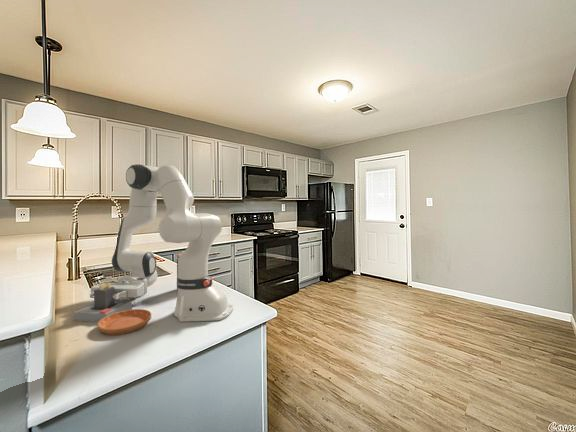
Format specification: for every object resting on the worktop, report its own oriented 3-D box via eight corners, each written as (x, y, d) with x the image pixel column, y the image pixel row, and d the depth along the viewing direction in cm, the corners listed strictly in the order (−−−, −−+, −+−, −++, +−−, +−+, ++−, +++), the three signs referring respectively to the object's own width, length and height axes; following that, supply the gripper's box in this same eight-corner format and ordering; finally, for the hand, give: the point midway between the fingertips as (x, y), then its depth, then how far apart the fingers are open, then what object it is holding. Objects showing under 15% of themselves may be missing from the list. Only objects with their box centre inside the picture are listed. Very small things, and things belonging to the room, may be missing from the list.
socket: (132, 308, 105) (131, 299, 105) (106, 322, 93) (106, 312, 92) (102, 306, 107) (102, 297, 107) (73, 320, 94) (73, 310, 94)
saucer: (157, 327, 90) (157, 318, 90) (101, 343, 79) (101, 333, 79) (144, 312, 102) (144, 305, 101) (94, 325, 91) (94, 317, 91)
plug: (114, 311, 102) (114, 282, 101) (105, 316, 97) (104, 285, 97) (104, 311, 102) (103, 281, 102) (94, 316, 98) (93, 285, 97)
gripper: (106, 277, 113) (77, 287, 100) (150, 279, 111) (127, 289, 98) (106, 291, 114) (78, 303, 100) (150, 293, 112) (127, 305, 98)
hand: (102, 296), depth 99 cm, fingers open, 8 cm apart
